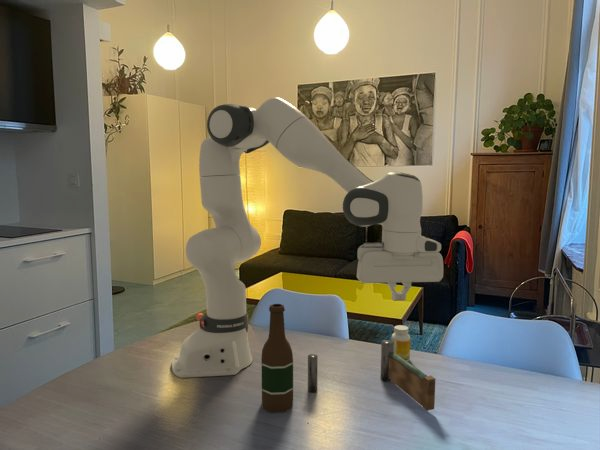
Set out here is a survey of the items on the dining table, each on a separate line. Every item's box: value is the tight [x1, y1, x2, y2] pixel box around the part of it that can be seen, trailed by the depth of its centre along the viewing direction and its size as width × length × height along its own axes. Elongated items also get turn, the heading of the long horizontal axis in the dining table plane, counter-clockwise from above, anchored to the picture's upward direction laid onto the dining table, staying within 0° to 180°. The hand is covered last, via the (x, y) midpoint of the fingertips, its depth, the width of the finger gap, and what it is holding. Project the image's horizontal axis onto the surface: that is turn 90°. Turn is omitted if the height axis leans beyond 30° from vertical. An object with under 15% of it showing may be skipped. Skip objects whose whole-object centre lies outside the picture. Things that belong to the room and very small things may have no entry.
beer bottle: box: [261, 303, 294, 414], centre depth 106 cm, size 8×8×24 cm
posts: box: [307, 339, 394, 394], centre depth 117 cm, size 24×3×10 cm, turn 108°
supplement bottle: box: [390, 324, 411, 363], centre depth 133 cm, size 5×5×10 cm
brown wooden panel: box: [388, 352, 436, 412], centre depth 110 cm, size 17×2×7 cm, turn 20°
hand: (398, 300), depth 108 cm, fingers closed
